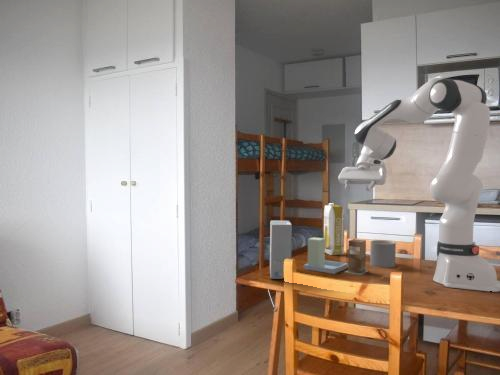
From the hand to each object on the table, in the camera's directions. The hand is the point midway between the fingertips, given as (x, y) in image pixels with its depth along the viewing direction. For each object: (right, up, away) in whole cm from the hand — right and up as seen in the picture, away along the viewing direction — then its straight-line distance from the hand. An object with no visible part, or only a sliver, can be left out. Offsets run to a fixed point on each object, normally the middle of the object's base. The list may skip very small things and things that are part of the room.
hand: (357, 189), depth 187 cm
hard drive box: (-34, -32, -18) cm, 50 cm away
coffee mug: (+11, -32, -1) cm, 34 cm away
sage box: (-19, -31, -10) cm, 38 cm away
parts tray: (-15, -32, -10) cm, 36 cm away
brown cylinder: (-4, -31, -15) cm, 35 cm away
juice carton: (-6, -31, +23) cm, 39 cm away
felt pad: (-4, -32, -15) cm, 36 cm away
